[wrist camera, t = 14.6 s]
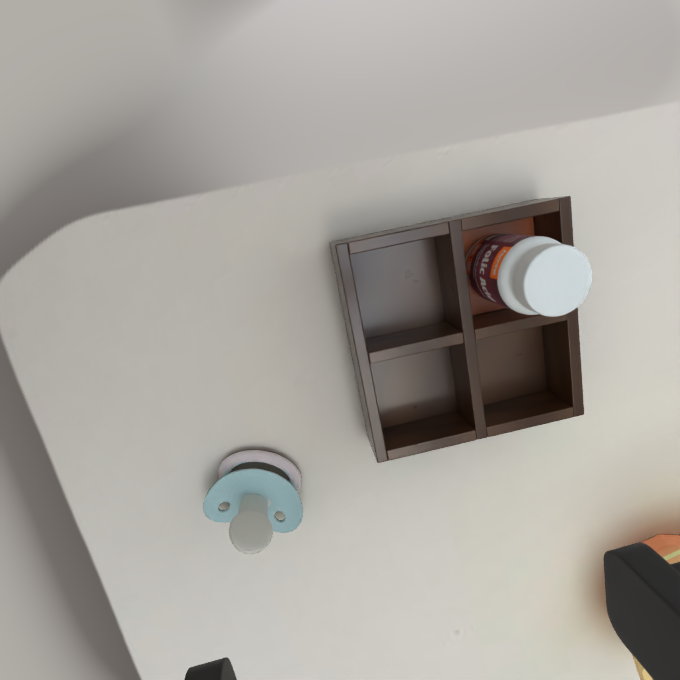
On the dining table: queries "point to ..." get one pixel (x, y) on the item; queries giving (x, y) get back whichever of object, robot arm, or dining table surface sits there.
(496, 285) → the pill bottle
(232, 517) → the pacifier
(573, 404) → the grid
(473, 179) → the dining table surface
